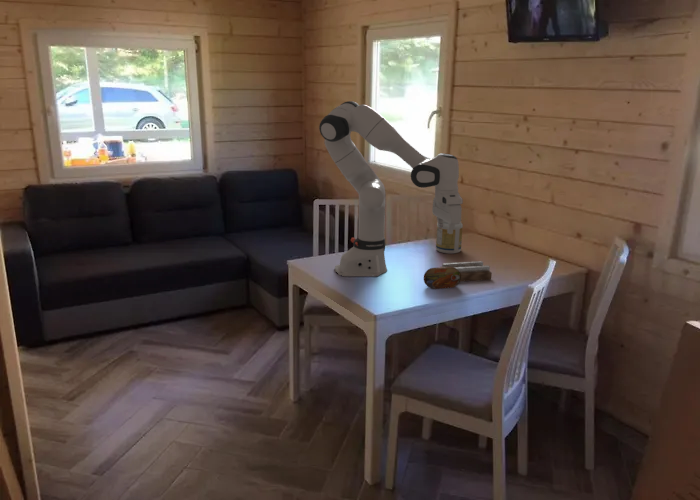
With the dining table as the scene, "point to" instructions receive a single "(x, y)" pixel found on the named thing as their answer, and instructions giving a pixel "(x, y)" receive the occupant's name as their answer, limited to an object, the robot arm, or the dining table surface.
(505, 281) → the dining table surface
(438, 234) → the supplement tub
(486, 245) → the dining table surface
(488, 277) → the dock
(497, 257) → the dining table surface
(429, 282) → the tin
